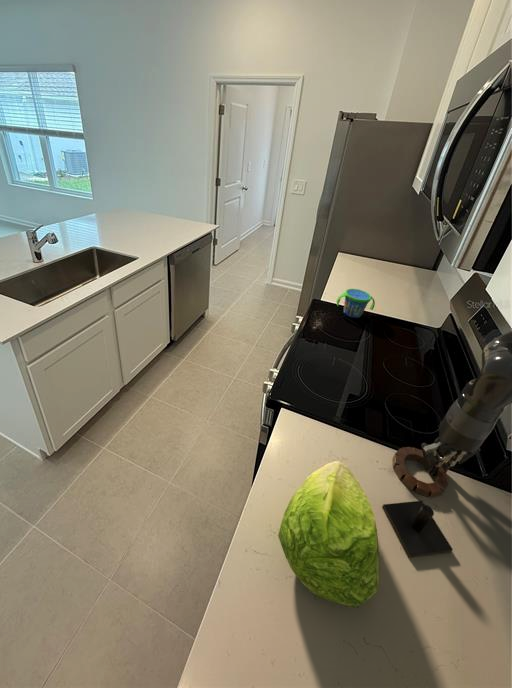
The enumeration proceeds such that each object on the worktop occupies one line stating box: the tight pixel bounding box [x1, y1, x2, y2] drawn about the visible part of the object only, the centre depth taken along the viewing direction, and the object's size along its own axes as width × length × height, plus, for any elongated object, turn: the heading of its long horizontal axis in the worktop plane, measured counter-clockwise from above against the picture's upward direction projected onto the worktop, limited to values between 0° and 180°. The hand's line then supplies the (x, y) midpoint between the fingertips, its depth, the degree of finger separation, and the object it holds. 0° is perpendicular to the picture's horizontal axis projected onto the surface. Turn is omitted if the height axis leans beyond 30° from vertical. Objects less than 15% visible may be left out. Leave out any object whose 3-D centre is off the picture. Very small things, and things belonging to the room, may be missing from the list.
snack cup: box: [336, 288, 376, 319], centre depth 134 cm, size 16×10×10 cm
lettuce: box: [277, 460, 380, 608], centre depth 58 cm, size 17×24×14 cm
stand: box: [381, 500, 454, 558], centre depth 61 cm, size 9×9×7 cm
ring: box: [392, 446, 449, 498], centre depth 73 cm, size 11×11×2 cm
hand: (434, 471), depth 74 cm, fingers closed on ring, 2 cm apart
